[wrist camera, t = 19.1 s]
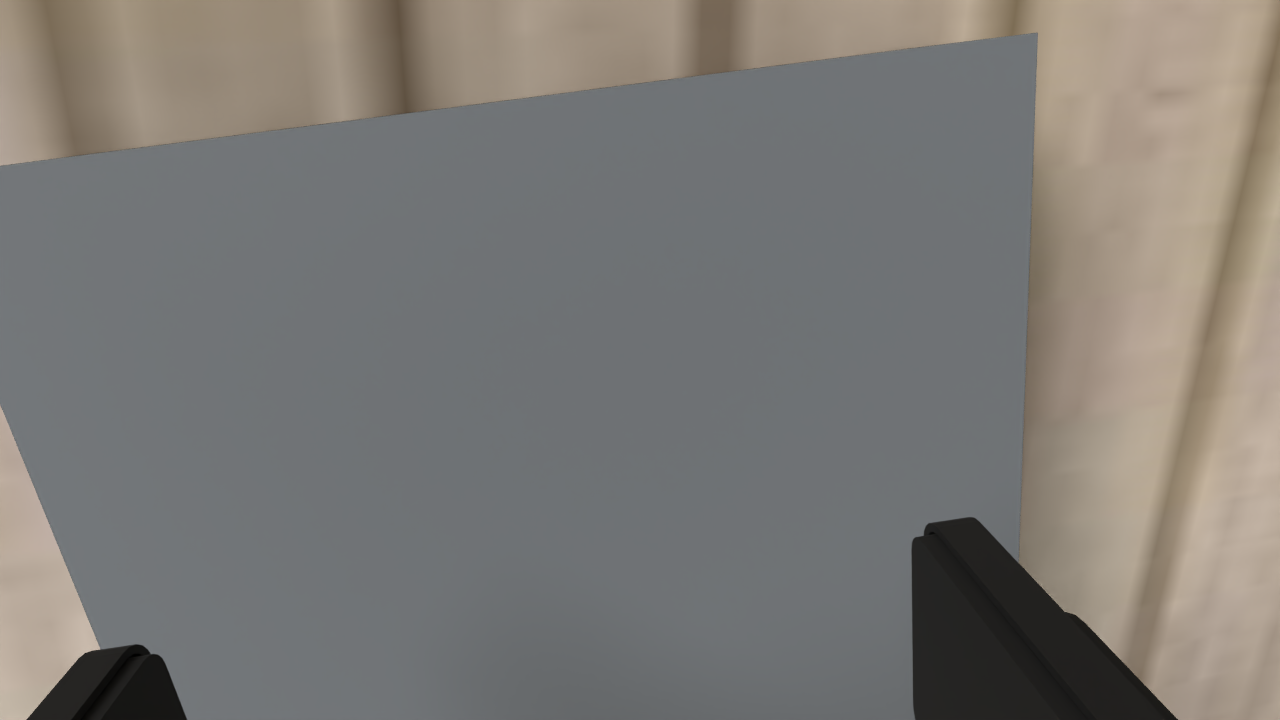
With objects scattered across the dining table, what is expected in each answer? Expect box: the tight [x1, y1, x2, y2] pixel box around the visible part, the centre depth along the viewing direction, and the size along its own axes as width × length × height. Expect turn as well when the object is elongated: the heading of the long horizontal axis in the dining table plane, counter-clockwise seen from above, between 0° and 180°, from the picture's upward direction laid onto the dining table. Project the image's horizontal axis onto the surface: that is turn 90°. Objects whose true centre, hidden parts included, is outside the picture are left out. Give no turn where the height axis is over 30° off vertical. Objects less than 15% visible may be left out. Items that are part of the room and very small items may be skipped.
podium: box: [0, 33, 1038, 720], centre depth 17 cm, size 18×14×4 cm
